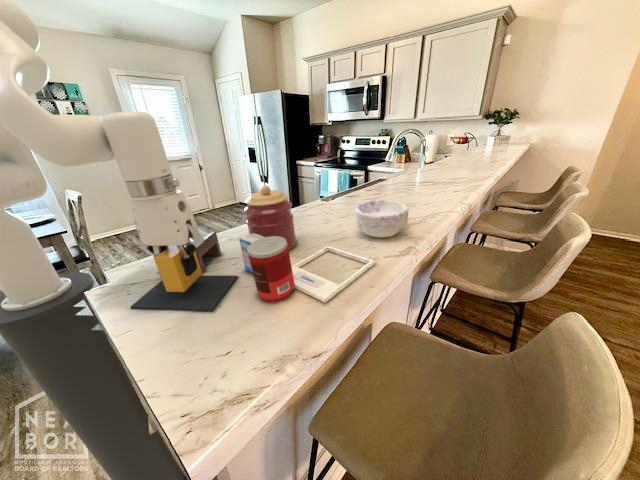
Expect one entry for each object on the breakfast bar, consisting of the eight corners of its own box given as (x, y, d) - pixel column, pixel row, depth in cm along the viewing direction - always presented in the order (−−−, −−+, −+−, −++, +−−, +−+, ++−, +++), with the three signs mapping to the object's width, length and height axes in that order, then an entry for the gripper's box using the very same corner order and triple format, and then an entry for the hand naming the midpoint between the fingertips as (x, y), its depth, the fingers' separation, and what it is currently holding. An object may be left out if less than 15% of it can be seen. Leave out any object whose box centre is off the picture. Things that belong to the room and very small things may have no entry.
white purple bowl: (392, 247, 70) (393, 219, 67) (345, 235, 80) (344, 210, 76) (415, 228, 81) (417, 203, 77) (371, 219, 90) (371, 197, 87)
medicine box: (245, 270, 65) (237, 238, 61) (259, 262, 68) (253, 231, 64) (265, 280, 60) (258, 246, 56) (279, 271, 63) (274, 239, 59)
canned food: (298, 279, 59) (291, 235, 54) (289, 303, 52) (279, 255, 47) (266, 279, 60) (256, 236, 55) (252, 302, 53) (240, 255, 48)
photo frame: (276, 274, 60) (327, 245, 71) (276, 278, 60) (327, 248, 72) (324, 298, 50) (374, 260, 62) (325, 302, 51) (374, 264, 63)
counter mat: (131, 309, 54) (129, 306, 54) (168, 277, 65) (167, 275, 64) (212, 311, 51) (212, 309, 51) (237, 277, 62) (237, 275, 62)
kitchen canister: (284, 233, 85) (276, 178, 77) (305, 246, 75) (298, 184, 67) (245, 245, 78) (232, 186, 71) (262, 261, 68) (249, 195, 61)
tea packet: (166, 291, 54) (153, 257, 51) (186, 273, 60) (175, 242, 57) (184, 292, 53) (172, 257, 50) (202, 273, 60) (192, 241, 56)
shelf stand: (159, 272, 67) (150, 248, 64) (182, 254, 76) (175, 232, 73) (203, 272, 65) (195, 247, 62) (221, 254, 74) (215, 231, 71)
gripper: (205, 180, 50) (226, 263, 58) (128, 184, 53) (158, 263, 60) (181, 190, 44) (209, 282, 51) (94, 194, 46) (133, 282, 54)
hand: (181, 271), depth 56 cm, fingers closed on tea packet, 4 cm apart
